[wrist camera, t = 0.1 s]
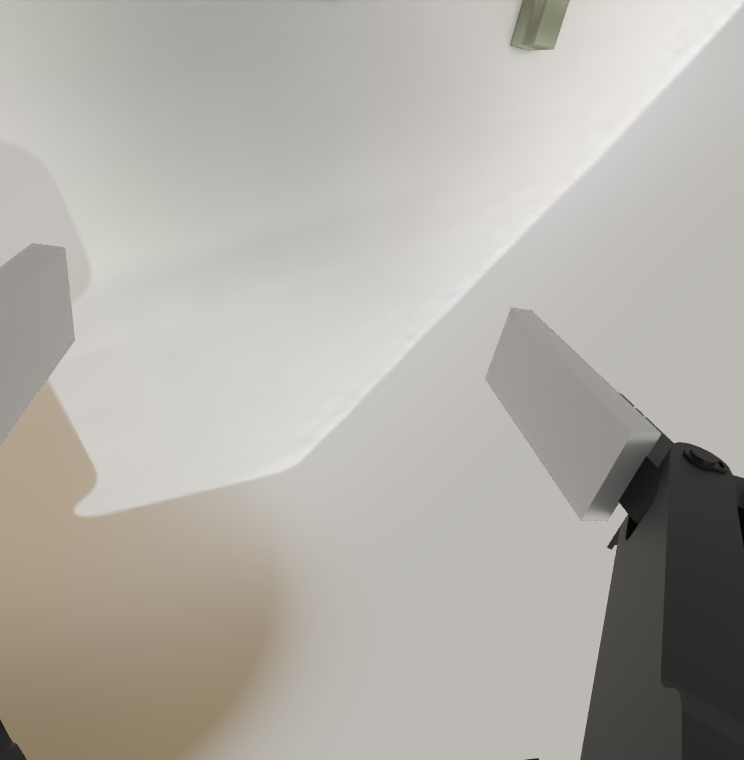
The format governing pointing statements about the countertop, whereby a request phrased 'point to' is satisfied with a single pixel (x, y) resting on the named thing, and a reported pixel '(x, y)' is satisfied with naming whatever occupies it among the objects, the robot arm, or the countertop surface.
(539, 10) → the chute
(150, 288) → the countertop surface
